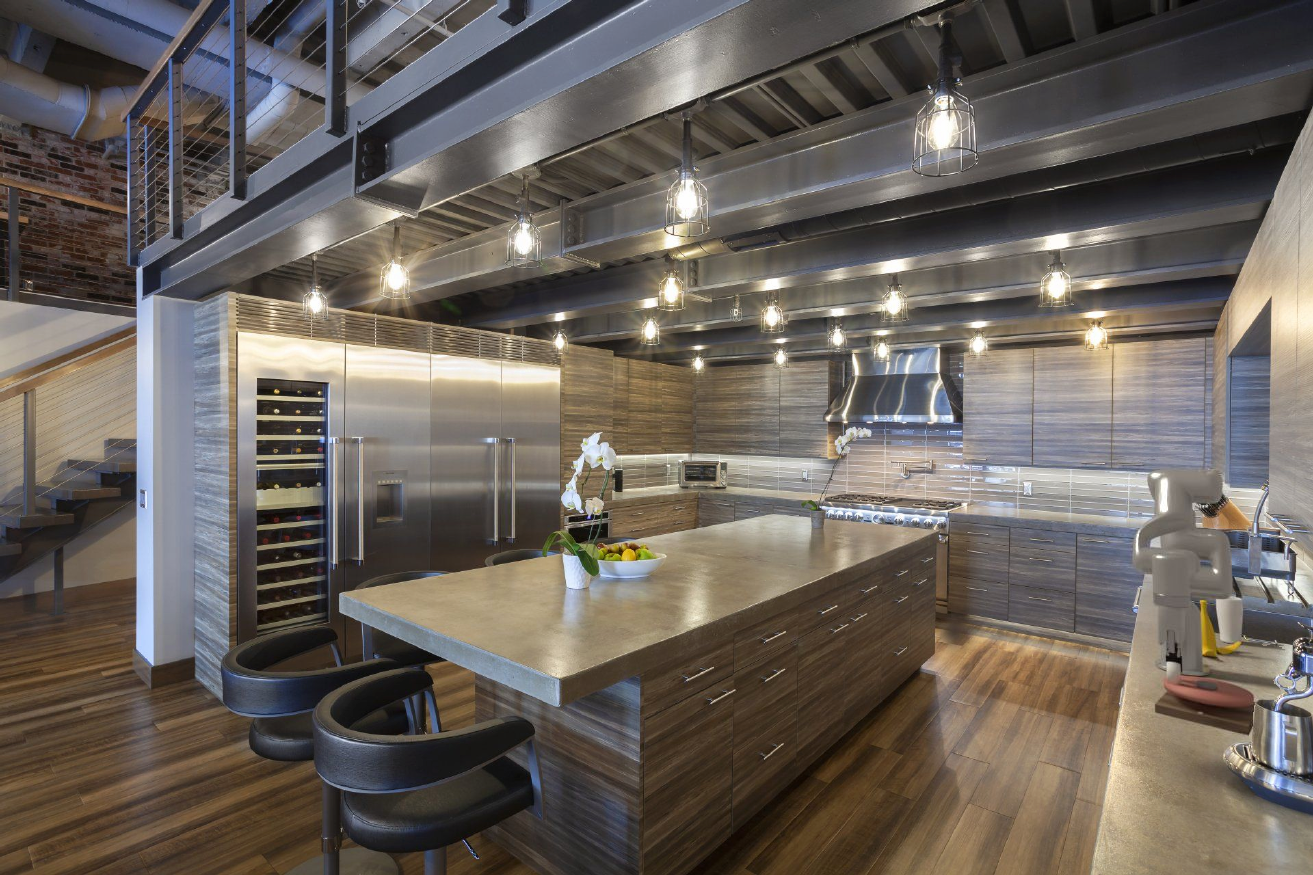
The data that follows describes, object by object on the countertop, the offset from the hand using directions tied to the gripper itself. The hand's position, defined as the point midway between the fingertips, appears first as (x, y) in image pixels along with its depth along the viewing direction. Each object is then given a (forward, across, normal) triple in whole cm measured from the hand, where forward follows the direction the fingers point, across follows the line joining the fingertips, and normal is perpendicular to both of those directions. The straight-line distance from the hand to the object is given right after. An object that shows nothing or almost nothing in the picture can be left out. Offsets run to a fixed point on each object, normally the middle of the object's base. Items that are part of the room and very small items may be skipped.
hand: (1174, 670), depth 163 cm
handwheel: (+4, +2, +7) cm, 8 cm away
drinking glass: (+9, -77, +9) cm, 78 cm away
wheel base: (+8, +2, +6) cm, 11 cm away
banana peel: (+9, -56, +4) cm, 57 cm away
